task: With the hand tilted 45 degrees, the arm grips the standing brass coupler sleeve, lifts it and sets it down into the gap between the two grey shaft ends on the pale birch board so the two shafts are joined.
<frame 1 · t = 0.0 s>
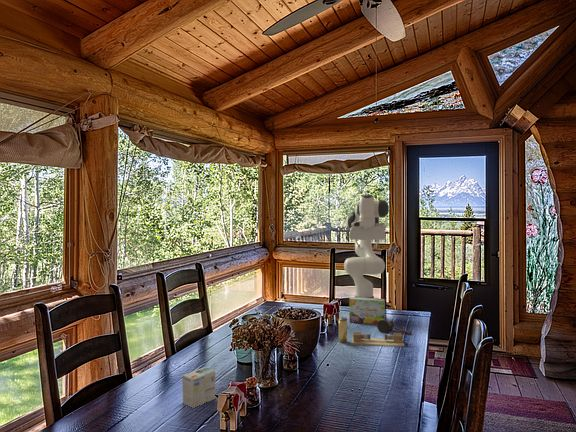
hand: (367, 247, 244), 48 cm above the table, tool pointing down, fingers open, 8 cm apart
snack box: (367, 323, 265), on the table
shaft rig: (377, 342, 226), on the table
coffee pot: (394, 333, 243), on the table
light bulb box: (199, 401, 159), on the table
coupler: (342, 341, 228), on the table
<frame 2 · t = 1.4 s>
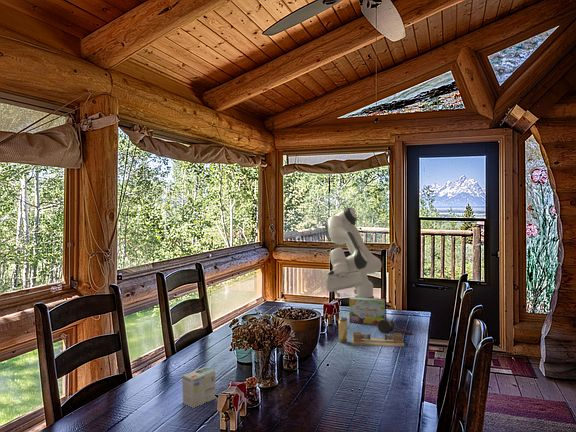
hand: (347, 295, 234), 23 cm above the table, tool tilted 40°, fingers open, 8 cm apart
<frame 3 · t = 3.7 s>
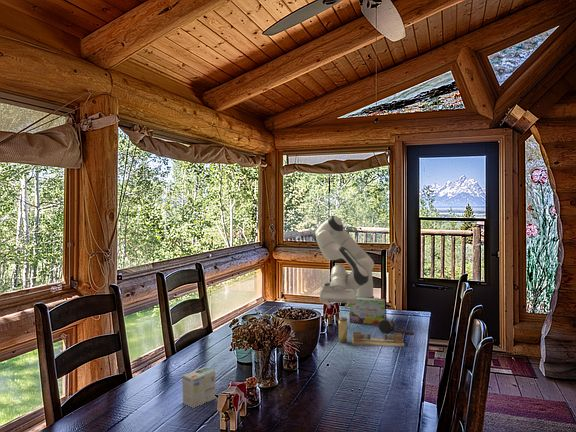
hand: (337, 307, 232), 17 cm above the table, tool tilted 50°, fingers open, 8 cm apart
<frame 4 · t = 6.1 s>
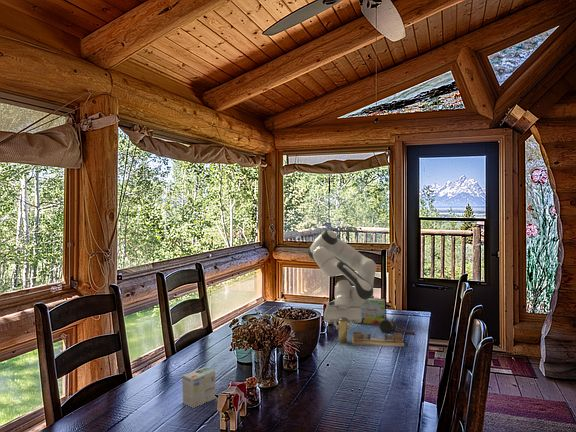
hand: (342, 329, 227), 7 cm above the table, tool tilted 45°, fingers closed on coupler, 4 cm apart
coupler: (342, 341, 228), on the table, touching gripper
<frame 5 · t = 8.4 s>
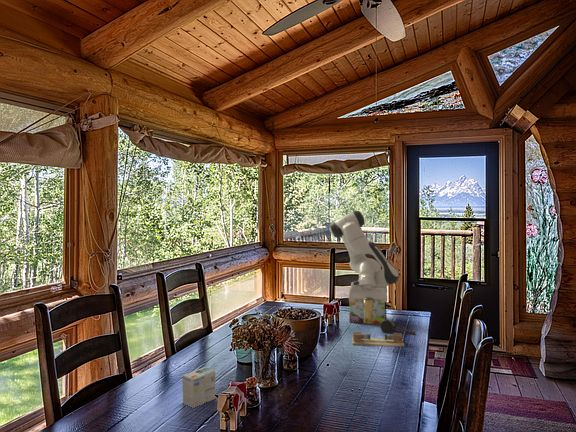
hand: (368, 308, 225), 18 cm above the table, tool tilted 45°, fingers closed on coupler, 4 cm apart
coupler: (368, 321, 225), point 11 cm above the table, touching gripper
when the fingers open (9 cm above the table, at t = 10.9 s): coupler drops 1 cm, resting on shaft rig.
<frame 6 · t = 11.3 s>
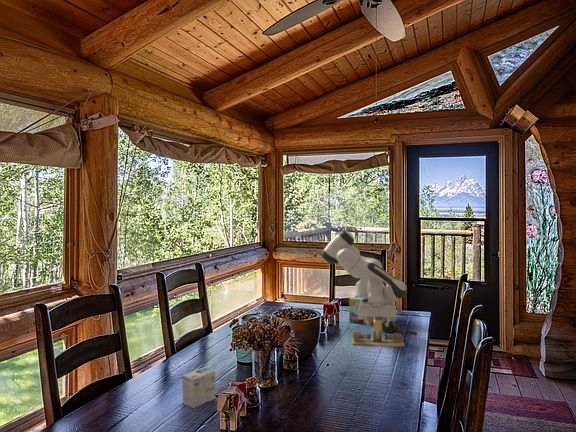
hand: (377, 326, 225), 9 cm above the table, tool tilted 45°, fingers open, 8 cm apart
coupler: (377, 341, 226), point 1 cm above the table, touching shaft rig
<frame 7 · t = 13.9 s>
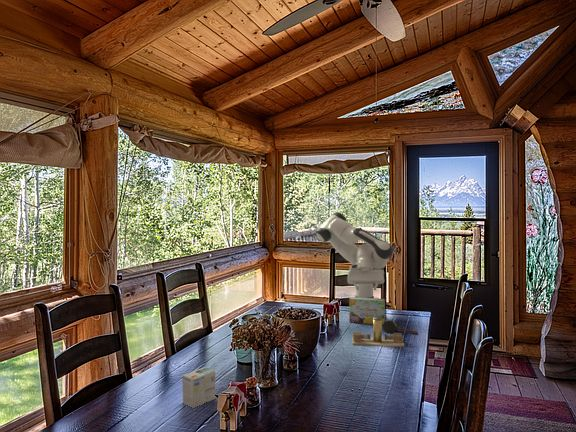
hand: (366, 289, 235), 26 cm above the table, tool tilted 45°, fingers open, 8 cm apart
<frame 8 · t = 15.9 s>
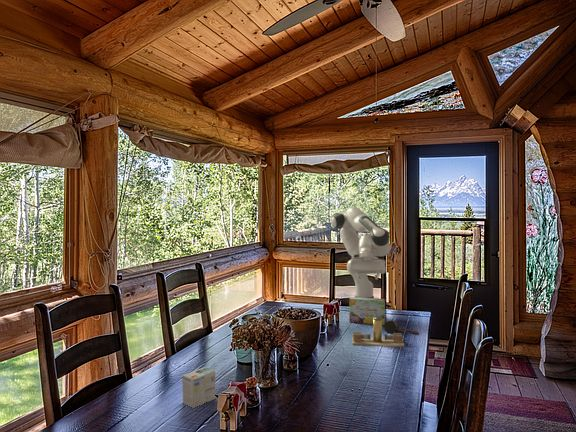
hand: (367, 278, 239), 31 cm above the table, tool tilted 45°, fingers open, 8 cm apart
at the end: coupler 0.0 cm off-centre on the shaft rig, point 0.8 cm above the shaft rig's base; coupler tilted 0°; the gripper is holding nothing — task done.
